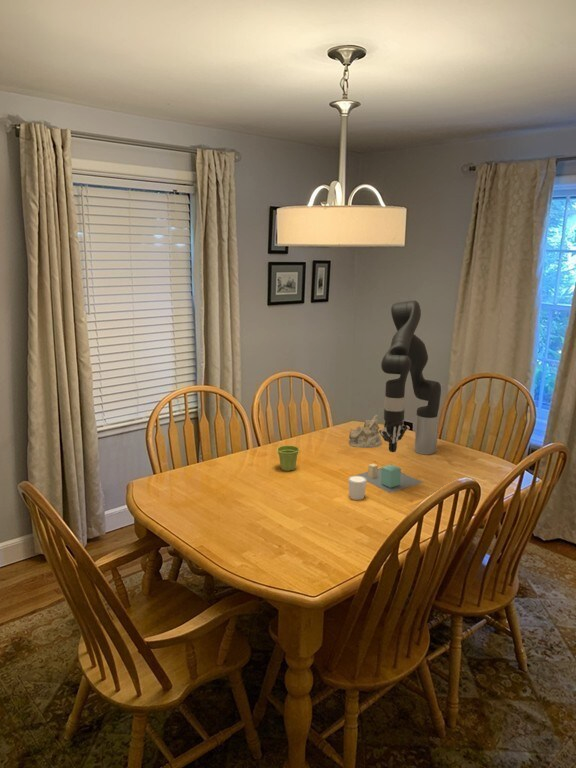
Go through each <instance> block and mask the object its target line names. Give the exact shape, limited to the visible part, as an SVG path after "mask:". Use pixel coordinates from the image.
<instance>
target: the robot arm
mask: <svg viewBox="0 0 576 768" xmlns="http://www.w3.org/2000/svg"><path fill="white" fill-rule="evenodd" d="M421 310H422V309H421V306H420V303H419V302H418V301H417V300H407V301H399V302H395V303H393V304H392V305H391V309H390V313H391V318H392V322H393V324H394V326H395V329H396V332H395V334H394V335H393V337H392V339H391V343H390V346H389V349H388V350H387V351H386V353H385V354H384V356H383V358H382V359H381V363H380V365H381V366H380V367H381V370H382V372H383V373H384V374H389V375H399V377H398V378H395V379H394V378H393V379H389V380H387V381H386V382H385V395H384V396H385V397H384V402H383V420H384V425H383V428H382V429H379V430H378V431H379V435H380V437H382V439H383V440H384V441H385V442H387V443H388V451H389V452H391V453H396V451H397V448H398V442H399V441H401V440H402V439H403V436H404V435H405V433H406V431H407V429H408V426H407V425H405V424H404V420H405V412H406V411H405V410H406V409H405V406H406V401H405V394H406V393H405V392H406V391H405V390H406V383H407V378H408V376H409V373H410V378H411V382H412V383H411V384H412V390H413V395H414V397H415V398H416V399H419V400H421V401H427V405H424V406H420V407H418V408H416V417H415V418H416V419H415V432H414V433H415V434H414V435H415V436H414V448H413V449H414V452H415V453H417V454H419V455H433V454H436V452H437V449H438V448H437V447H438V436H439V435H438V433H439V432H438V430H437V429H438V428H437V427H438V426H437V425H438V414H439V409H440V403H441V402H440V401H441V396H442V395H441V394H442V387H441V383H440V382H439V381H435V380H430V379H426V378H425V377H424V375H423V371H424V369H425V368H426V366H427V364H428V361H429V355H428V350H427V347H426V344H425V342H424V341H423V340H422V339H420V338H419V337H418V336H417V335H416V334H415V332H416V330H417V327H418V325H419V323H420V320H421V318H422V317H421V316H422V315H421V314H422V311H421Z"/></svg>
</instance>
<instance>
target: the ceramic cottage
mask: <svg viewBox="0 0 576 768" xmlns="http://www.w3.org/2000/svg"><path fill="white" fill-rule="evenodd" d="M379 431H380V427H379V419H378V414H376V415H374V416H373V418H372V419H371V420H370V419H366V420H365V421H364V425H363V427H362V425H361V424H359V426H357V427H356V429H353V428H351V429H350V430H349V435H348V438H349V441H348V444H349V445H348V446H350V447H355V448H362V449H366V448H367V449H368V448H370V449H371V448H379V447H381V446H382V439H381V434H380V433H379Z"/></svg>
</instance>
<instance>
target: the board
mask: <svg viewBox="0 0 576 768" xmlns="http://www.w3.org/2000/svg"><path fill="white" fill-rule="evenodd" d="M367 466H368V467H367V469H368V470H367V471H366V472H363V473H362V472H361V473H358V474H355V475H354V476H362V477H365V478H366V479H367V481H366V483H369V484H372V485H373V486H375V487H377V488H379V489H381V490H384V491H385V492H387V493H389V494H391V493H394V492H397V491H400V490H405V489H406V488H409V487H412V486H416V485H419V484H422V483H424V481H422V480H419V479H417V478H415V477H414V476H413V477H412V476H410V475H408V474H406V473H404V472H402V471H401V478H400V485H398V486H394V487H391V488H390V487H388V486H386V485H384V484H381V468H382V467H381V468H379V466H378V465H377V464H376V463H370V464H368V465H367Z"/></svg>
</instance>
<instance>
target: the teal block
mask: <svg viewBox="0 0 576 768" xmlns="http://www.w3.org/2000/svg"><path fill="white" fill-rule="evenodd" d="M401 472H402V468H401V467H398V466H396V465H393V464H388V465H385V466H381V484H384V485H386V486H388V487H390V488H391V487H394V486H398V485H400V478H401Z"/></svg>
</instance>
